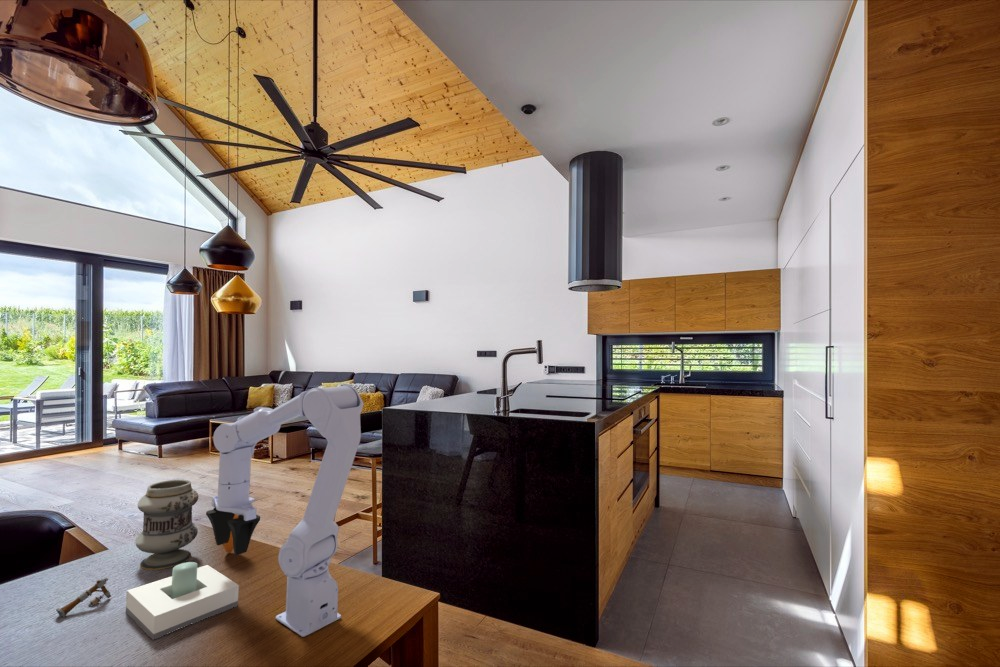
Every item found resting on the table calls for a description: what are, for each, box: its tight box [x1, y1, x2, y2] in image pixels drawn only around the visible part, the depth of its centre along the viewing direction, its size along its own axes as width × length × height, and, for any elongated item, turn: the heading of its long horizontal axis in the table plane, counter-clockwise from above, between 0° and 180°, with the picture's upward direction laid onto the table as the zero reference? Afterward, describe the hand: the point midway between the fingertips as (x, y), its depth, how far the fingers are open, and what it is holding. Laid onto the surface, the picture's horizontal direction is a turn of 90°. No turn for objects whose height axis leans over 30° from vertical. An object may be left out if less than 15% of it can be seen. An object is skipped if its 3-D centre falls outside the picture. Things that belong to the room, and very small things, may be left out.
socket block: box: [125, 564, 240, 641], centre depth 90 cm, size 14×14×4 cm
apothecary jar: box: [135, 479, 199, 571], centre depth 111 cm, size 12×12×18 cm
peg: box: [171, 561, 198, 599], centre depth 90 cm, size 4×4×7 cm
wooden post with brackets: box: [55, 577, 112, 619], centre depth 90 cm, size 2×8×4 cm, turn 154°
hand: (231, 548), depth 96 cm, fingers open, 7 cm apart
